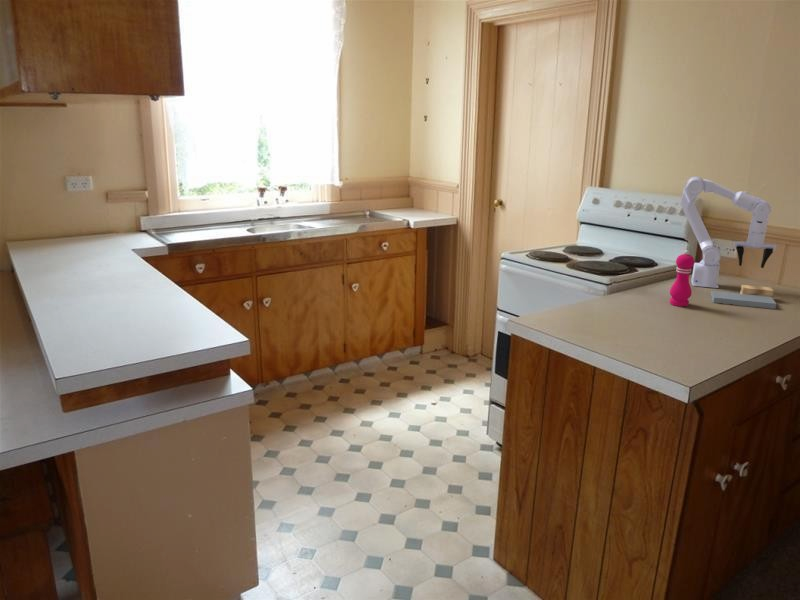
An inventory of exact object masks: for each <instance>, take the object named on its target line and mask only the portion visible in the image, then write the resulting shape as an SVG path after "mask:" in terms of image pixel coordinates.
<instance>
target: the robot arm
mask: <svg viewBox="0 0 800 600" xmlns="http://www.w3.org/2000/svg"><path fill="white" fill-rule="evenodd" d="M702 192H703V193H704V194H707V193H713V194H717V195H719V196H720V197H724V198H726V199H729V200H731V202H732V204H733V206H736V207H738V208H741V209H743V210H744V211H747V212H750V213H751V212H752V216H751V219H750V222H749V223H750V224H749V228H748V234H747V235H748V236H747V240H746V241H736V240H735V241H733V245H732V246H733V247H734V248H736V249H735V250H736V252H737V256H738V266H739V267H742V264H743V258H744V257H743V256H744V254H745V253H744V252H745V250H744V248H746V249H762V250H763V253H762V260H761V263H760V268H761V269H764V268H765V265H766V262H767V261H768V259H769V258H770V257H771V255H772V254H773V252H774V251H777V244H773V243H765V238H766V232H767V227H768V222H769V221H768V219H769V215H770V214H771V212H772V209H771V208H772V207H771V204H770V203H769V202H767V200H765V199H762V198H761V197H759V196H758V197H756V196H754V195H752V194H749V191H748V190H747V191H746V190H744V191H742V190H741V191H737V192H736V191H733V190H732V189H729V188H727V187H725V186H723V185H721V184H719V183H717V182H715V181H713V180H709V179H707V178H701V177H700V176H697V175H695V176H691V177H690V178H688V180H687V181H686V182H685V185H684V186H683V190H682V196H681V200H680V206H681V209H682V211H683V213H684V215H685V217H686V219H687V221H688V224H689V225H690V227H691V230H692V232H693V234H694V236H695V237H696V241H697V242H698V245H699V247H700V249H701V252H702V259H701V260H700V262H694V265H693V266H692V267H693V268H692V274H691V285H692V286H693V287H704V288H705V287H706V288H714V289H718V288H719V285H718V278H719V272H720V267H721V263H720V260H721V258H722V257H721V251H720V248H718V246H716V245H715V243H714V242H713V240H712V238H711V237H710V234H709V232H708V230H707V227H706V225H705V224H704V222H703V219H702V218H701V214H700V213H699V211H698V209H697V207H696V205H695V202H696V201H697V199H698V196H699V195H700V194H701V193H702Z"/></svg>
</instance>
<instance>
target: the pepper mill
mask: <svg viewBox="0 0 800 600" xmlns="http://www.w3.org/2000/svg"><path fill="white" fill-rule="evenodd" d="M694 263H695V258H694V257H693V256H692V254H691V255H690V251H689V250H687V249H685V250H684V251H683V254H680V255H678V257H676V259H675V264H676V270H675V272H676V278H675V281H674V282H673V284H672V285H671V287H670V289H669V295H670V296H671V297H670V299H669V304H670V305H671V304H672V305H671V306H674V305H675V307H679V306H686V307H688V306H689V303H690V301H689V299H690V298H691V296H692V288H691V284H690V280H689V279H690V274H691V273H692V271H693V268H692V267H694Z"/></svg>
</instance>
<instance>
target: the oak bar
mask: <svg viewBox="0 0 800 600" xmlns="http://www.w3.org/2000/svg"><path fill="white" fill-rule="evenodd" d="M774 292H775V290H774V289H773V287H770V286H759V285H758V286H757V285H749V284H748V285H747V284H741V285H740V292H739V294H750V295H760V296H771V297H772V298H773V297H774ZM773 299H774V298H773Z"/></svg>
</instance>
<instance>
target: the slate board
mask: <svg viewBox="0 0 800 600" xmlns="http://www.w3.org/2000/svg"><path fill="white" fill-rule="evenodd" d="M711 297H712V298H711ZM710 298H711V301H712V302H713V304H719V303H723V304H722V305H729V304H733V305H732V306H739V305H740V307H741V306H742V307H750V308H751V307H752V308H761V309H771V310H776V309H777V308H776V307H777V302H776V301H775V300H774V298H772V297H771V296H760V295H750V294H740V292H739V293H736V292H728V291H727V292H726V291H719V290H718V291H717V290H711V291H710Z"/></svg>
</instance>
